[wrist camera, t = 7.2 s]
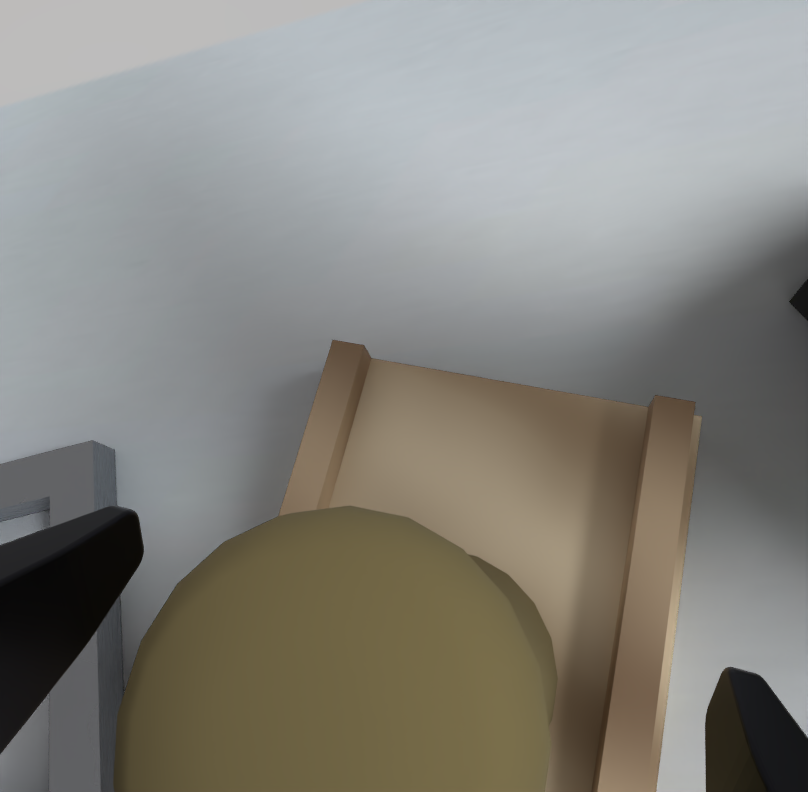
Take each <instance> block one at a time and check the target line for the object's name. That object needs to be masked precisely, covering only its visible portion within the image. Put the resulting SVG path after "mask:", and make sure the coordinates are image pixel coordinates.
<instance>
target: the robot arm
mask: <svg viewBox="0 0 808 792" xmlns="http://www.w3.org/2000/svg"><path fill="white" fill-rule="evenodd" d="M143 553H144V546H143V540H142V534H141V529H140V523H139V517H138V515H137V513H136V512H135V511H133V510H131V509H127V508H124V507H120V506H114V505H112V506H108V507H105V508H102V509H99V510H97V511H94V512H91V513H88V514H85V515H83V516H80V517H77V518H74V519H72V520H69V521H66V522H63V523H61V524H58V525H55V526H52V527H50V528H47V529H44V530H41V531H39V532H36V533H33V534H30V535H27V536H25V537H22V538H19V539H16V540H14V541H11V542H8V543H5V544H3V545H0V754H1V753H2V752H3V750H4V749H5V748H6V747H7V745H8V744H9V743H10V741H11V740H12V739H13V738H14V736H15V735H16V734H17V733H18V731H19V730H20V729H21V728H22V726H23V725H24V724H25V723H26V721H27V720H28V719H29V718H30V716H31V715H32V714H33V712H34V711H35V710H36V709H37V707H38V706H39V705H40V704H41V702H42V701H43V700H44V699H45V697H46V696H47V695H48V694H49V692H50V691H51V690H52V688H53V687H54V686H55V685H56V683H57V682H58V681H59V680H60V678H61V677H62V676H63V675H64V673H65V672H66V671H67V670H68V668H69V667H70V666H71V665H72V663H73V662H74V661H75V659H76V658H77V657H78V656H79V654H80V653H81V652H82V650H83V649H84V648H85V646H86V645H87V644H88V642H89V641H90V639H91V638H92V637H93V635H94V634H95V632H96V631H97V629H98V628H99V626H100V625H101V623H102V622H103V620H104V619H105V617H106V615H107V614H108V612H109V611H110V609H111V608H112V606H113V605H114V603H115V602H116V600H117V599H118V597H119V595H120V594H121V592H122V591H123V589H124V588H125V586H126V585H127V583H128V582H129V580H130V579H131V577H132V575H133V574H134V572H135V571H136V569H137V568H138V566H139V564H140V563H141V560H142V557H143ZM705 749H706V792H808V737H807V736H806V735H805V733H804V732H803V731H802V729H801V728H800V727H799V725H798V724H797V723H796V721H795V720H794V719H793V717H792V716H791V715H790V713H789V712H788V711H787V709H786V708H785V707H784V705H783V704H782V703H781V701H780V700H779V699H778V697H777V696H776V695H775V693H774V692H773V691H772V689H771V688H770V686H769V685H768V684H767V682H766V681H765V680H764V679H763V678H762V677H761V676H760V675H758V674H756V673H752V672H748V671H745V670H741V669H737V668H733V667H727V668H725V669H724V671H723V672H722V674H721V676H720V678H719V681H718V683H717V686H716V688H715V691H714V693H713V696H712V698H711V701H710V703H709V706H708V709H707V713H706V722H705Z"/></svg>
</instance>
